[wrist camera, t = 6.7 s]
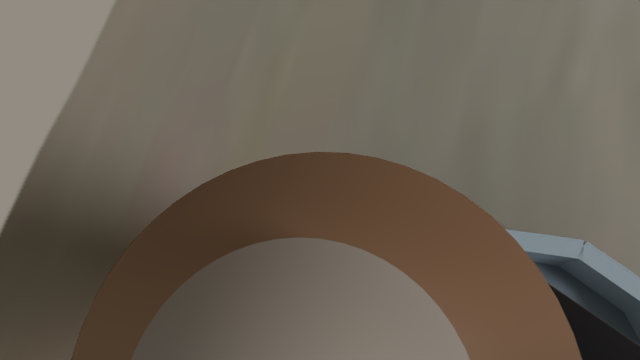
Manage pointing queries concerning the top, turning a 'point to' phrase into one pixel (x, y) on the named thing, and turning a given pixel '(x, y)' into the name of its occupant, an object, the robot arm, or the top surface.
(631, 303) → the bowl
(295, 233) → the brown cylinder
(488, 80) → the top surface
